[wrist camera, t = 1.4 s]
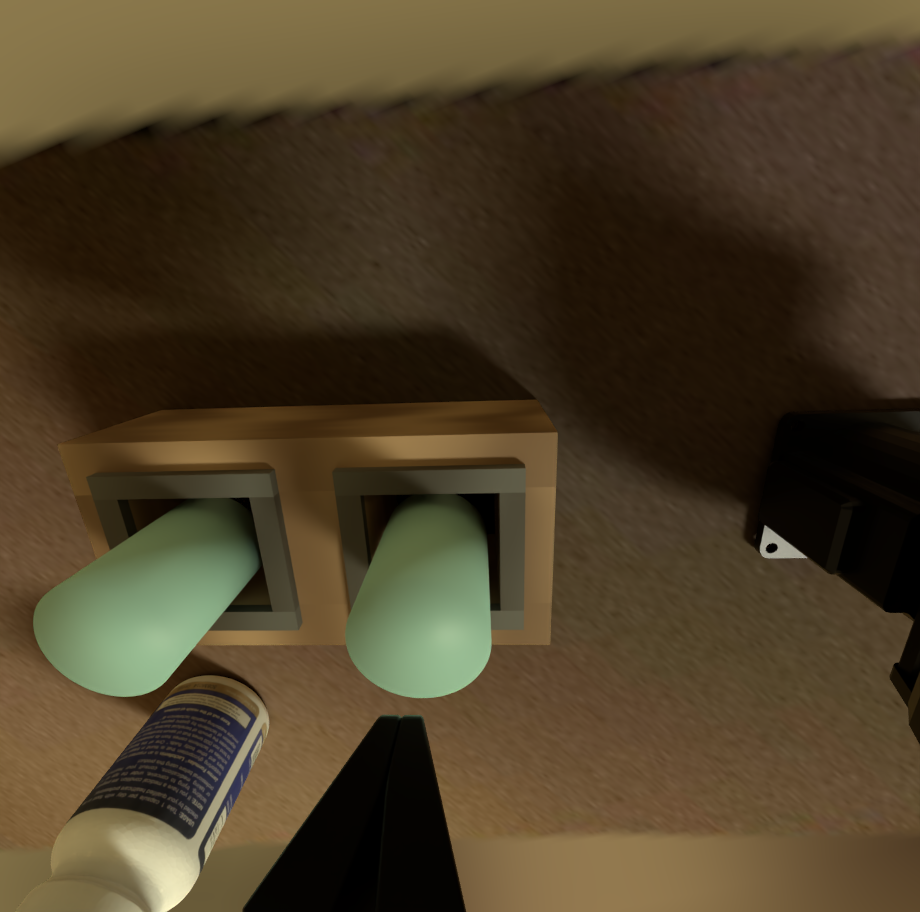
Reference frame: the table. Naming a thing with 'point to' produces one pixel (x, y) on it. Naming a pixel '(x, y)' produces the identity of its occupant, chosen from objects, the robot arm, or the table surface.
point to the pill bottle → (158, 804)
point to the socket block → (332, 499)
